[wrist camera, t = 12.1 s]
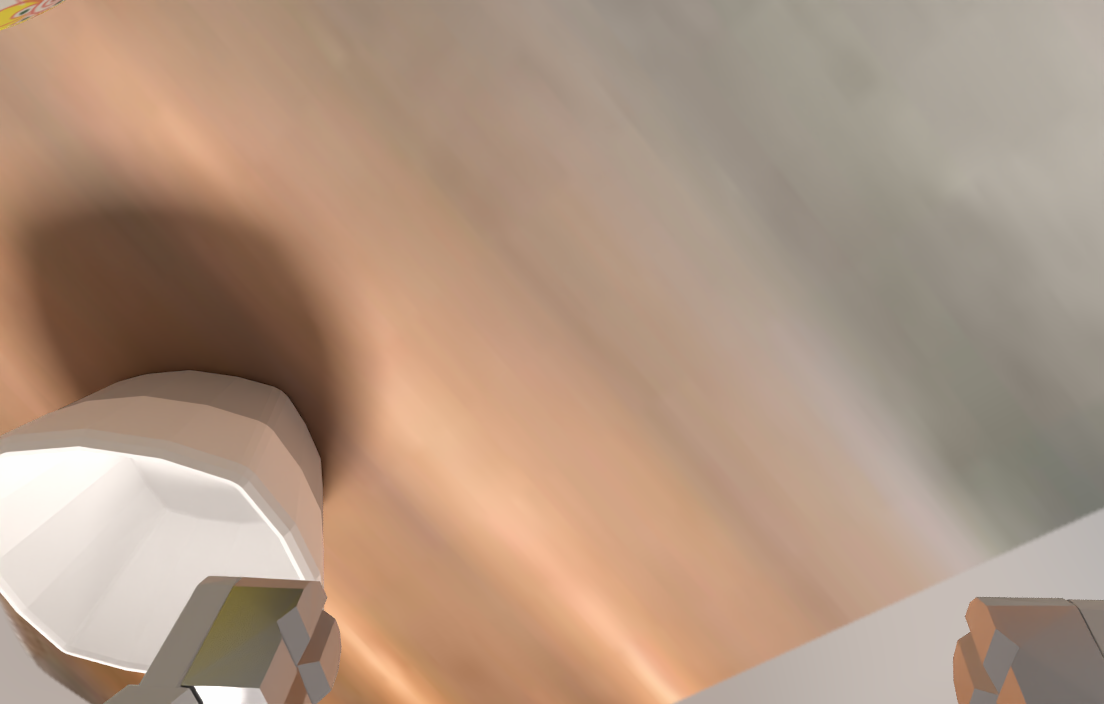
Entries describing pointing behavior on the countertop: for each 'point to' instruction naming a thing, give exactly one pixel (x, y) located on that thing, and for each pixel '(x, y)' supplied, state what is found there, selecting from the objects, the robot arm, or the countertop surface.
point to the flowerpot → (23, 10)
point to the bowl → (153, 507)
